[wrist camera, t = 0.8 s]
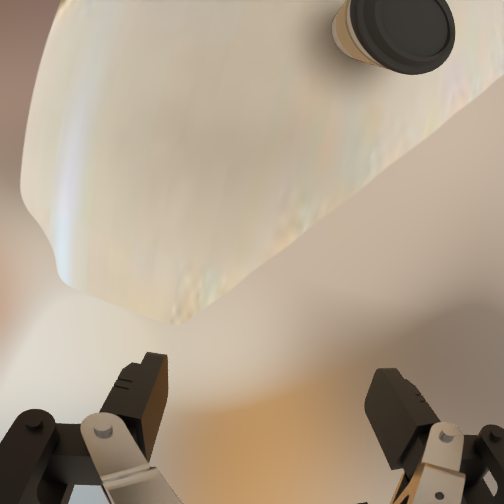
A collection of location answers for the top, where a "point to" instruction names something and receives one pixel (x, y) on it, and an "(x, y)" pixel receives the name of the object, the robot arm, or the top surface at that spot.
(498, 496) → the robot arm
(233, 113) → the top surface
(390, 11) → the coffee cup
